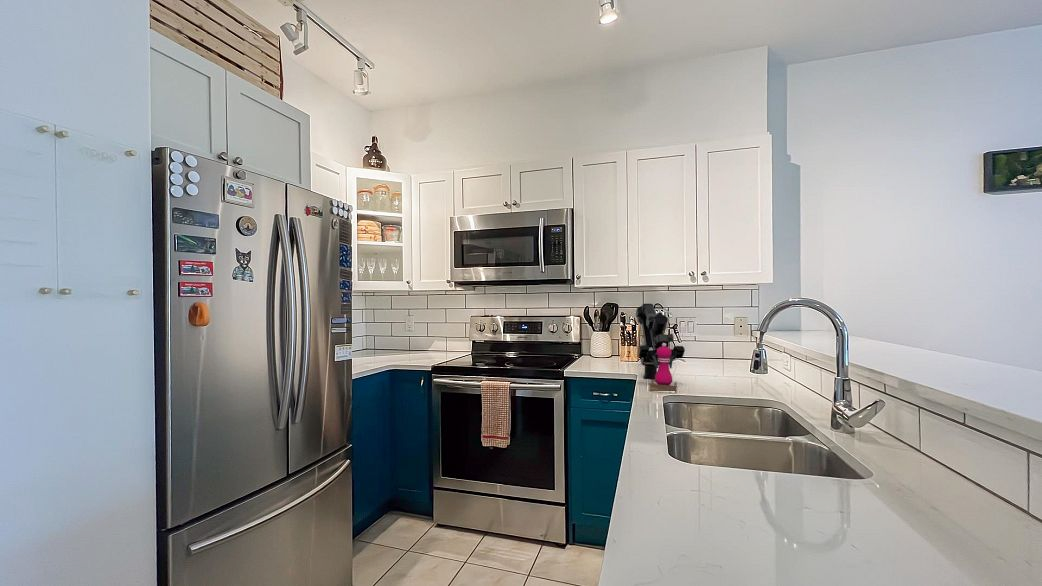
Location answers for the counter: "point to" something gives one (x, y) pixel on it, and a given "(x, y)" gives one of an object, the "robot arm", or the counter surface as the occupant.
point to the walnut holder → (662, 387)
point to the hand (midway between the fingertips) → (664, 367)
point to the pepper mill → (663, 366)
